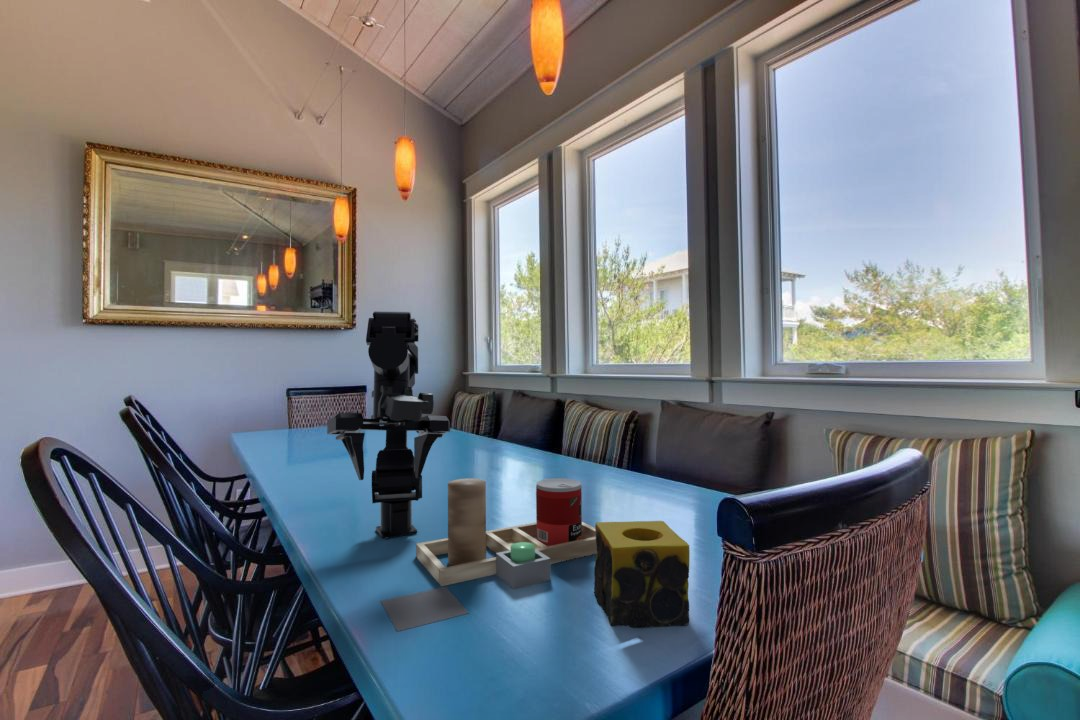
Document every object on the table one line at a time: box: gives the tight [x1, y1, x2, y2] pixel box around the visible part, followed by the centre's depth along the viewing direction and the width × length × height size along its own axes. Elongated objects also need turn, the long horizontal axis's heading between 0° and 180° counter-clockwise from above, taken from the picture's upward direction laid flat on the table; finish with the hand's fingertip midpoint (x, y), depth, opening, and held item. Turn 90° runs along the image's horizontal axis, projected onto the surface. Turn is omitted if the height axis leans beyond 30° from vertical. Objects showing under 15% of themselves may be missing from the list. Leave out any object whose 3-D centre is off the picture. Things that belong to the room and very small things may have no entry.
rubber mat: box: [380, 586, 470, 633], centre depth 67 cm, size 9×9×1 cm
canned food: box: [535, 477, 583, 546], centre depth 90 cm, size 8×8×11 cm
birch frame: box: [415, 521, 597, 587], centre depth 86 cm, size 13×30×2 cm, turn 119°
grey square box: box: [495, 549, 552, 590], centre depth 76 cm, size 6×6×4 cm
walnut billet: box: [447, 478, 487, 567], centre depth 82 cm, size 6×6×13 cm
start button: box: [511, 542, 535, 564], centre depth 76 cm, size 4×4×3 cm
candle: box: [593, 520, 690, 629], centre depth 67 cm, size 10×10×10 cm
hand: (390, 478), depth 83 cm, fingers open, 9 cm apart
